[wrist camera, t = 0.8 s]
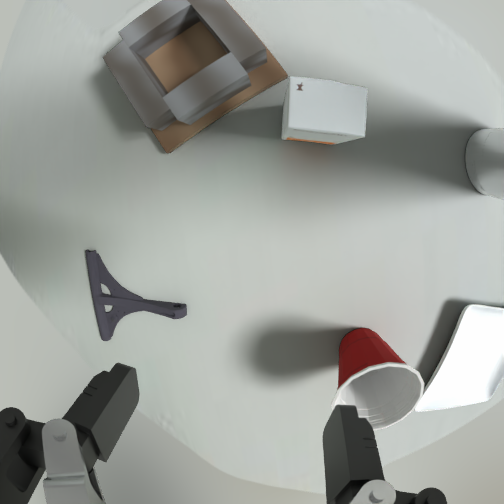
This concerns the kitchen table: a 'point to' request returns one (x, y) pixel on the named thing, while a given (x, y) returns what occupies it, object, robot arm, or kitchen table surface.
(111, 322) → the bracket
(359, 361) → the plastic cup
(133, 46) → the holder
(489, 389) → the salad plate
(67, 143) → the kitchen table surface
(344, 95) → the skincare box
